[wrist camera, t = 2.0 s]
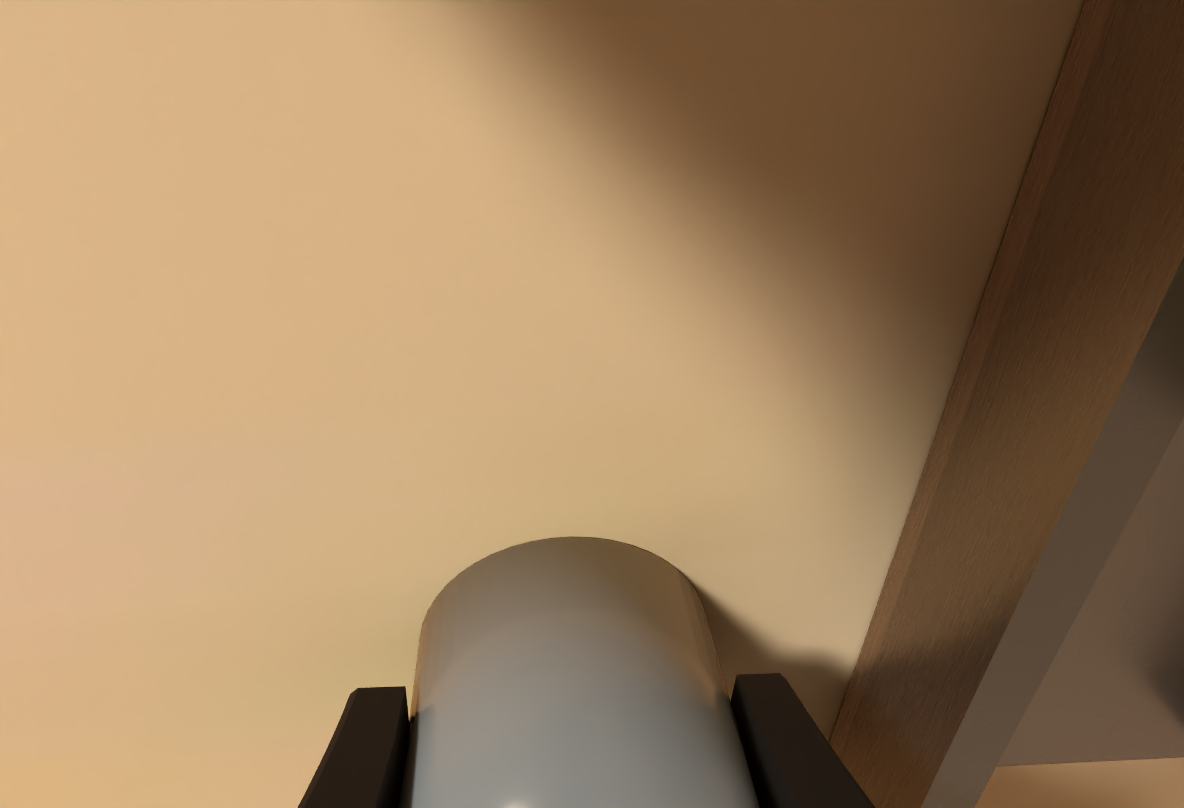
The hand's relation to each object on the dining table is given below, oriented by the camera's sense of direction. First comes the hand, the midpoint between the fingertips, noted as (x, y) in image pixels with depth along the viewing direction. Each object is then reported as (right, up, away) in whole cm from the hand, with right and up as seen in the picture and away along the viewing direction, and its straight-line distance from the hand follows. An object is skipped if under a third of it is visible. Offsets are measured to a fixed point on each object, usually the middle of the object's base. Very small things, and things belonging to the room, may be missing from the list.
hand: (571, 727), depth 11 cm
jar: (0, +1, +1) cm, 1 cm away
